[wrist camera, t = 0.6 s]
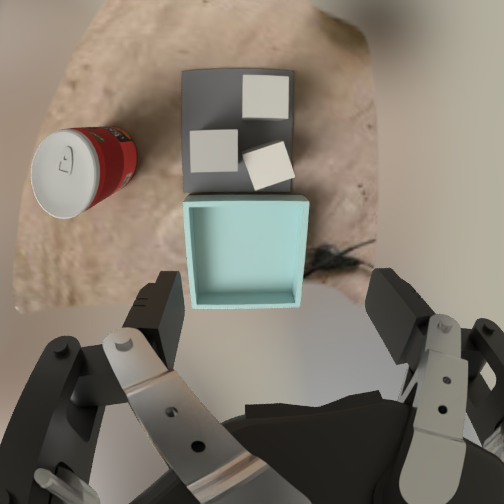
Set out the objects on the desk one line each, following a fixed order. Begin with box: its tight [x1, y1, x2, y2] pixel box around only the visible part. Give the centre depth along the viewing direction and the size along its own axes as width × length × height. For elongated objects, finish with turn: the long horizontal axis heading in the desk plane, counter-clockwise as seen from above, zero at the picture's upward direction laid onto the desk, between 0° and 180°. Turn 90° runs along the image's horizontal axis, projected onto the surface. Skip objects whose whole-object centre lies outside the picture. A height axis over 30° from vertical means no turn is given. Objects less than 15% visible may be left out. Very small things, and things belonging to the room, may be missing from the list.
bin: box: [183, 194, 309, 309], centre depth 33 cm, size 13×13×3 cm
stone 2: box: [242, 75, 289, 121], centre depth 25 cm, size 4×4×6 cm
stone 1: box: [190, 130, 238, 173], centre depth 27 cm, size 4×4×6 cm
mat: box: [181, 69, 293, 193], centre depth 29 cm, size 14×12×1 cm
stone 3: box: [242, 140, 295, 191], centre depth 28 cm, size 4×4×5 cm
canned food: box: [31, 127, 137, 219], centre depth 24 cm, size 8×8×11 cm
